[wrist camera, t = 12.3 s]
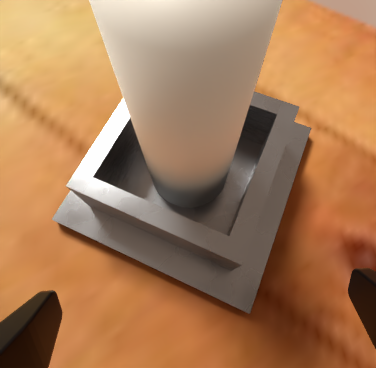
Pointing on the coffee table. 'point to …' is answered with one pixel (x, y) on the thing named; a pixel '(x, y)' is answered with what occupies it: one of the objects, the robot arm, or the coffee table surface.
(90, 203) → the metal roll holder
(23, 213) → the coffee table surface
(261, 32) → the white round cylinder
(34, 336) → the robot arm
